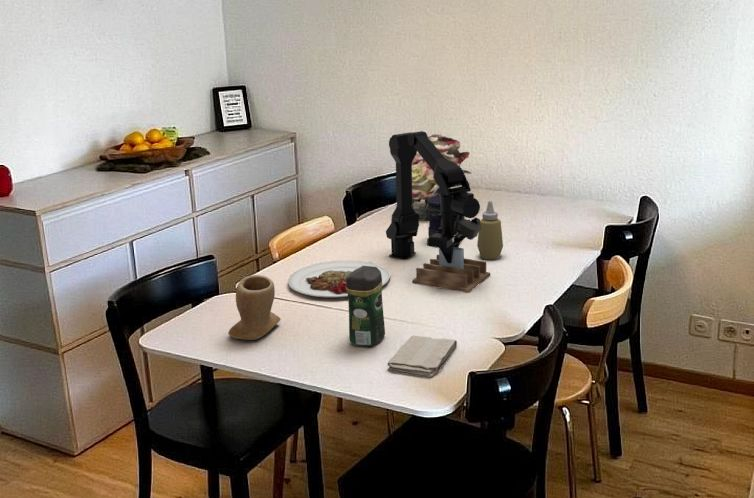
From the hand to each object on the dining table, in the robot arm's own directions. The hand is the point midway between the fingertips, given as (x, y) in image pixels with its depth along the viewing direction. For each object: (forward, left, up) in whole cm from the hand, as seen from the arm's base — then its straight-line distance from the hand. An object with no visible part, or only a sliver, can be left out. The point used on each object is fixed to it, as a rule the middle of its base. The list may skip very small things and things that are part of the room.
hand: (451, 261), depth 245 cm
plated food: (-29, -16, -6) cm, 34 cm away
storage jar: (-18, +30, -6) cm, 35 cm away
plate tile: (0, 0, -4) cm, 4 cm away
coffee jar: (0, -47, -6) cm, 47 cm away
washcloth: (+17, -50, -6) cm, 53 cm away
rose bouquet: (-37, +59, -6) cm, 70 cm away
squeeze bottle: (+2, +23, -6) cm, 24 cm away
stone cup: (-28, -55, -6) cm, 62 cm away
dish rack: (0, 0, -6) cm, 6 cm away
